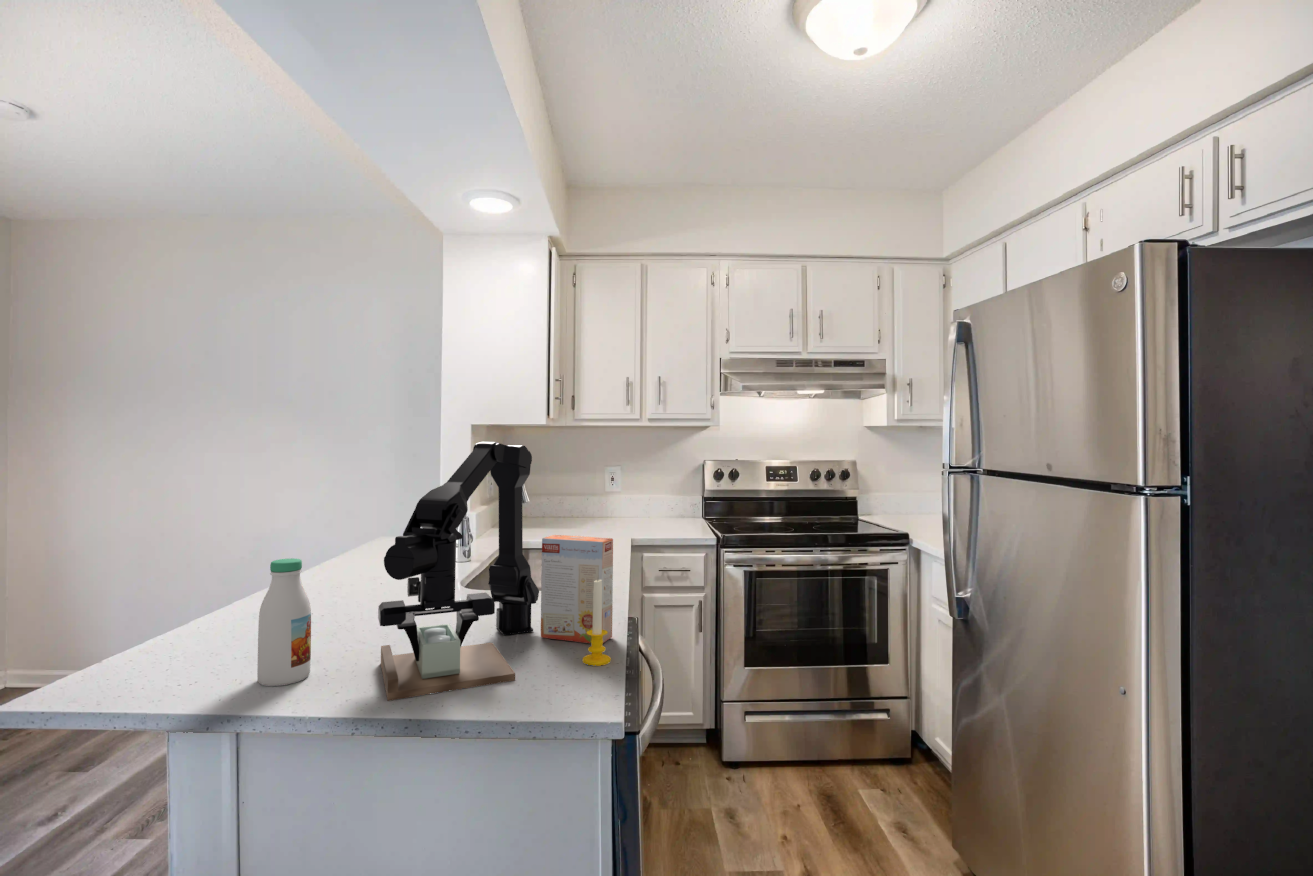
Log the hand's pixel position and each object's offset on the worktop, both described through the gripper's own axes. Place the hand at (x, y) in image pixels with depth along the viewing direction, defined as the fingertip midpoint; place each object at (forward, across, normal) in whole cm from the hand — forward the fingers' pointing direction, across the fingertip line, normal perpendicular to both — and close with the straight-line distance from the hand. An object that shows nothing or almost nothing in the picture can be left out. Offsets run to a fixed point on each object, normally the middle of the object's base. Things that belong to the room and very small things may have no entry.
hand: (436, 657), depth 109 cm
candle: (+3, -28, +6) cm, 28 cm away
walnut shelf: (+3, -2, 0) cm, 3 cm away
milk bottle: (+3, +23, -8) cm, 25 cm away
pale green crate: (+1, 0, 0) cm, 1 cm away
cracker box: (+3, -29, -9) cm, 30 cm away
